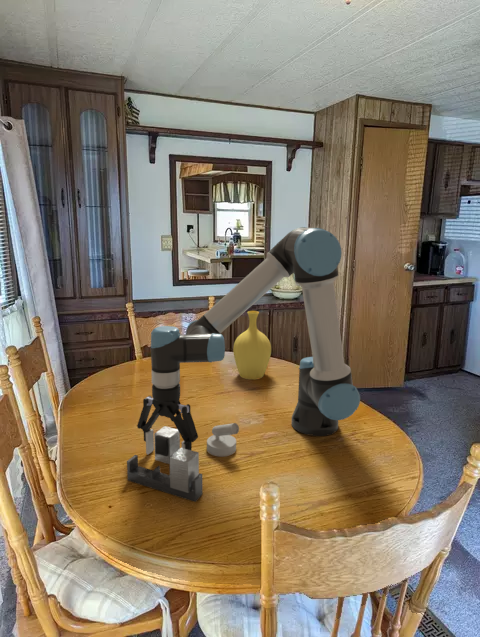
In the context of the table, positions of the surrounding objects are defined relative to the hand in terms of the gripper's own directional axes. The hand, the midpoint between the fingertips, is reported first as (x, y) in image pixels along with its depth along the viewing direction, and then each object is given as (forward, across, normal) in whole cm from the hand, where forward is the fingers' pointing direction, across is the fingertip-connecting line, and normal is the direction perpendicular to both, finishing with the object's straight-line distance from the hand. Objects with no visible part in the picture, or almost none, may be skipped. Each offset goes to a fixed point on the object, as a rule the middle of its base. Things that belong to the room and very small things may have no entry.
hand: (167, 456), depth 123 cm
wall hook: (0, -12, -11) cm, 16 cm away
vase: (0, +5, -72) cm, 72 cm away
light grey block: (0, 0, 0) cm, 0 cm away
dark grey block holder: (0, -7, +12) cm, 14 cm away
